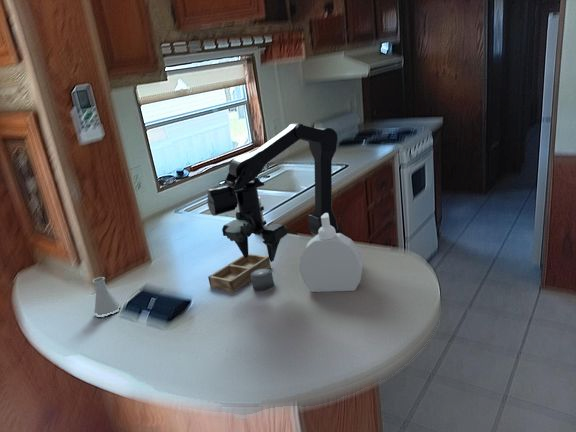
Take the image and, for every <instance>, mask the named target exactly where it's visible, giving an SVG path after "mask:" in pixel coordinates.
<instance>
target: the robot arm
mask: <svg viewBox="0 0 576 432" xmlns="http://www.w3.org/2000/svg"><path fill="white" fill-rule="evenodd" d="M299 140H301V141H304V142H308V145H309V150H310V153H311V155H312V157H313V159H314V160H313V161H314V211H313V212H312V214H307V219H308V226H307V228H308V229H309V232H310V234H312V236H313V237H315V236H316V235H318V230H319V229H320V228H321V227H322V222H321V216H322V215H323V214H324V213H328V215H329V221H330V225H331V226H333V227H334V228H335V231H336V233H341V234H343V235H345V236H346V237H347V235H346V234H345V233H343V232H342V231H340V230H339V228H338V221H337V218H336V215H335V214H334V211H333V203H332V201H333V200H332V199H333V198H332V196H333V194H332V193H333V191H332V190H333V185H332V184H333V183H332V182H333V181H332V179H333V177H332V176H333V174H332V173H333V172H332V171H333V169H332V168H333V167H332V164H333V163H332V161H333V157H334V156H335V154H336V152H337V146H338V141H339V137H338V132H337V131H335V129H334V128H330V127H323V126H322V127H321V126H320V127H319V126H316V127H312V126H307V125H304V124H302V123H290V124H289V125H288V126H287V127H286V128H285V129H283V130H282V131H281V132H279V133H278V134H277V135H275V136H274V137H272V138H271V139H269V140H267V142H265V143H264V144H262V145H261V146H259V147H258V148H257V149H255V150H253V151H250V152H248V153H245V154H242V155H240V156H238V157H236V158H234V159H232V160H231V161H230V163H229V166H228V174H227V175H226V177H225V180H224V182H223V183H222V184H223V186H219V187H215V188H209V189H207V193H208V194H207V201H206V202H207V207H208V209H209V211H210V214H211V215H212V216H218V215H222V214H225V213H229V212H233V211H235V210H236V209H237V208H238V210H237V211H236V212H235V219H233V220H232V221H229V222H228V223H226V224H224V225H223V226H222V228H221V232H222V235H223V236H225V237H226V238H227V239H229V240H230V242H234V243H235V244H236V246H237V247H238V249H239V251H240V253H241V254H242V256H244V257H245V258H247V257H248V254H249V238H250V237H251V235H252V234H255V235H261V237H262V239H263V241H262V243H263V244H264V245H265V246H266V249H267V255H268V257H269V260H270V263H271V262H274V260H275V257H276V255H277V250H278V247H279V244H280V242H281V239H283V238H284V237H285V236H287V235H288V228H287V226H286V225H284V224H283V223H282V224H279V223H273V224H270V225H269V226H268V227H266V225H267V221H266V220H265V219H264V220H263V219H262V213H261V211H262V212H263V211H264V210H265V208H264V205H261V206H260V202H259V197H260V196H259V191H258V188H260V187H263V186H265V183H264V182H262V181H261V180H260V179H259V178H258V176H259V175H260V174H261V173H262V171H263V170H264V167H265V166H267V164H268V163H269V162H271V161H272V160H273V159H274V158H275V159H276V157H278V156H279V155H280V154H281V153H283V152H284V151H285V150H287V149H288V148H290V147H291V146H293V145H294V144H295V143H297V142H298V141H299ZM264 225H265V227H264Z"/></svg>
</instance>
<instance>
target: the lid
mask: <svg viewBox="0 0 576 432" xmlns="http://www.w3.org/2000/svg"><path fill="white" fill-rule="evenodd" d="M250 281H251V285H252V290H254V291H257V292H264V291H268V290H270V289H272V288H273V287H274V286H275V282H274V276H273V271H272V269H270V268H268V269H258V270H255V271H253V272H252V273H251V280H250Z"/></svg>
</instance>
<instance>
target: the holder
mask: <svg viewBox="0 0 576 432" xmlns="http://www.w3.org/2000/svg"><path fill="white" fill-rule="evenodd" d="M270 268H271V262H270V259H269V256H267V255H266V256H265V255H259V254H252V253H248V257H247V258H245V257H244V256H243V255H242V256H240V257H238V258H237V259H235V260H234V261H232V262H230V263H228V264H226V265H225V266H224V267H222V268H221V269H218V270H216V271H215V272H213V273H211V274H210V275H209V276H207V278H208V283H209V287H210V288H213V289H217V290H222V291H227V292H231V293H235V292H236V291H237V290H239V289H240V288H242V287H243V286H244V285H246V284H247V283H249V282H250V281H251V273H252V272H253V271H255V270H258V269H270Z"/></svg>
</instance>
